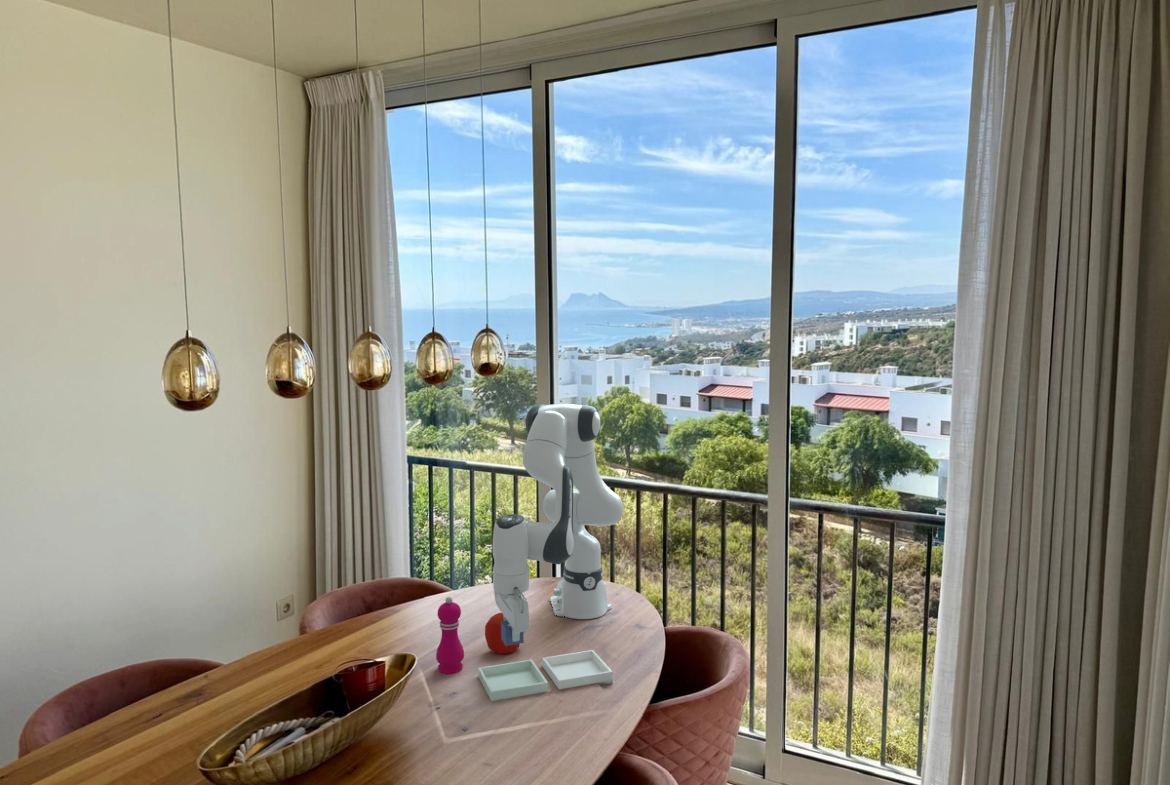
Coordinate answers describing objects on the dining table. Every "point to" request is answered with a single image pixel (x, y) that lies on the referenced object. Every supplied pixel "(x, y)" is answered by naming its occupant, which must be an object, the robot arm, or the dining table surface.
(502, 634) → the letter cube
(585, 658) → the tray offwhite
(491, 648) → the apple
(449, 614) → the pepper mill
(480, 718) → the dining table surface
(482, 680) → the tray sage
